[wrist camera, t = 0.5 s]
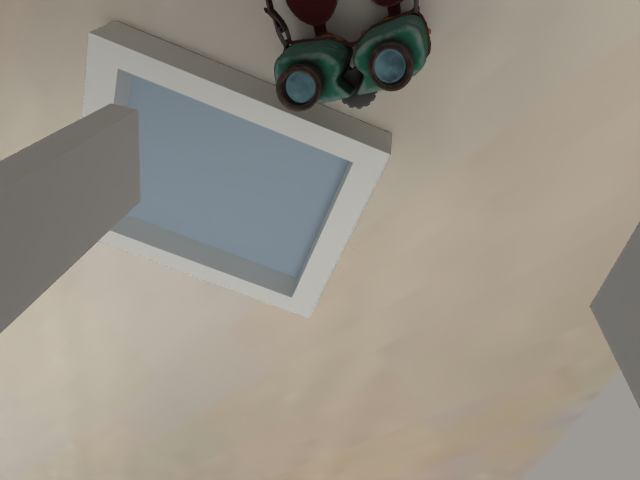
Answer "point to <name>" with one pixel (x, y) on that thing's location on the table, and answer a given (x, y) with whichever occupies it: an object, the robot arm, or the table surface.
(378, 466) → the table surface
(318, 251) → the case
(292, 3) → the binoculars
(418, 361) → the table surface
